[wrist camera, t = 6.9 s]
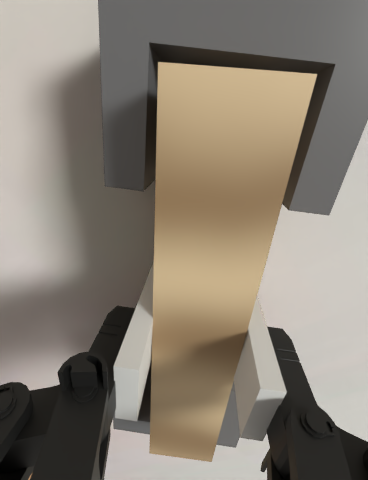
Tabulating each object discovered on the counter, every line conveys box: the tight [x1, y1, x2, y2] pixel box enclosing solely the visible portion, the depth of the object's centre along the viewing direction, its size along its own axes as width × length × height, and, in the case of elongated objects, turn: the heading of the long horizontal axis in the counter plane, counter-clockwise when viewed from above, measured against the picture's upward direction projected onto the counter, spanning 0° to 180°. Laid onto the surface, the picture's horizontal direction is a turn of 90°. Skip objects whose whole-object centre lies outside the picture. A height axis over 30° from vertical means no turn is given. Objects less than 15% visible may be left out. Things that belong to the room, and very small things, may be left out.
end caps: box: [98, 0, 368, 448], centre depth 13 cm, size 23×8×4 cm, turn 174°
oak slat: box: [150, 62, 317, 462], centre depth 12 cm, size 18×4×5 cm, turn 176°
